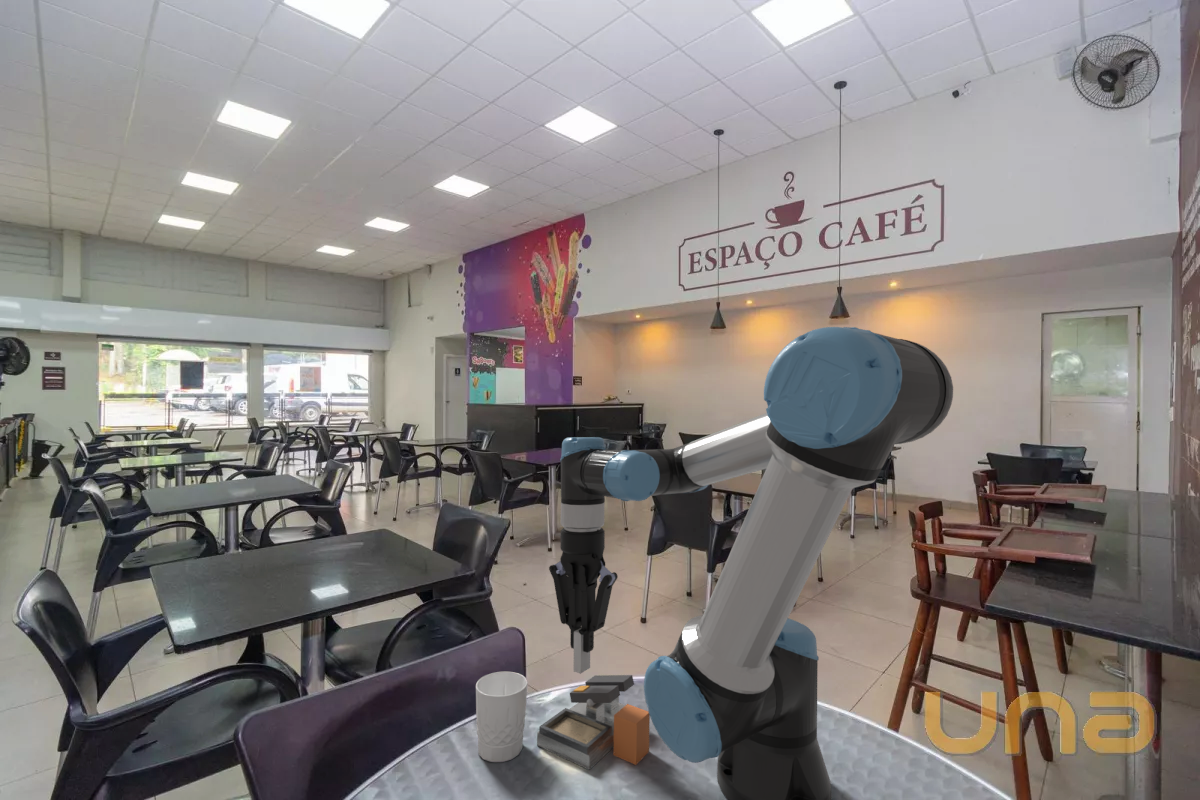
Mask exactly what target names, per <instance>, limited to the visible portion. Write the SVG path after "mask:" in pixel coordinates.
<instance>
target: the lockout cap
mask: <svg viewBox="0 0 1200 800" xmlns="http://www.w3.org/2000/svg"><path fill="white" fill-rule="evenodd" d="M625 705H626V706H624V707H623V708H622V709H621V710H620V711H618V712H617V713H616V714H615V715H614V747H613V749H612V750H613V754H612V755H613V756H614V757H616V758H619V759H622V760H624V761H626V762H628V763H631V764H633V765H635V766H637V765H638V763H640V762H641V761H642V760H643V759H644V757H646V756H647V754H649V753H650V724H651V723H650V720H651V717H650V715H649V711H648V710H645V709H642V708H640V707H637V706H634V705H632V704H629V703H627V704H625Z"/></svg>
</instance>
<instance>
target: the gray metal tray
mask: <svg viewBox="0 0 1200 800" xmlns="http://www.w3.org/2000/svg"><path fill="white" fill-rule="evenodd" d="M619 701H620V696H619V697H617V698H616V699H615V700H613V701H612V702H611V703H596V704H595V705H594V706H592V707H589V706H588V705H587V703H575V704H574V705H573V706H572V707H571V708H567V707H564V709H562V710H561V711H559V712H558V713H556V714H555V715H554V716H552V717H551V718H549V719H548V720H546V721H545V722H544V723H542V724H541V725H540V726H539V729H538V731H537V733H536V746H538V747H540V748H542V749H543V750H546V751H548V752H550V753H552V754H554V755H556V756H559V757H561V758H563V759H565V760H568V761H570V762H572V763H574V764H576V765H578V766H580V767H582V768H585V769H587V770H589V771H590V769H592V768H593V767H594V766H595V765H596V764H598V762H599V761H601V760H602V759H603V758H604V757H605V756H606V755H607V754H608V753H609V752H610V751H612V750H613V749H614V715H615V714H616V713H617V712H618V711H620V710H621V709H622V708H623V707H624V706H626V705H627V704H625V703H620V702H619Z"/></svg>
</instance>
